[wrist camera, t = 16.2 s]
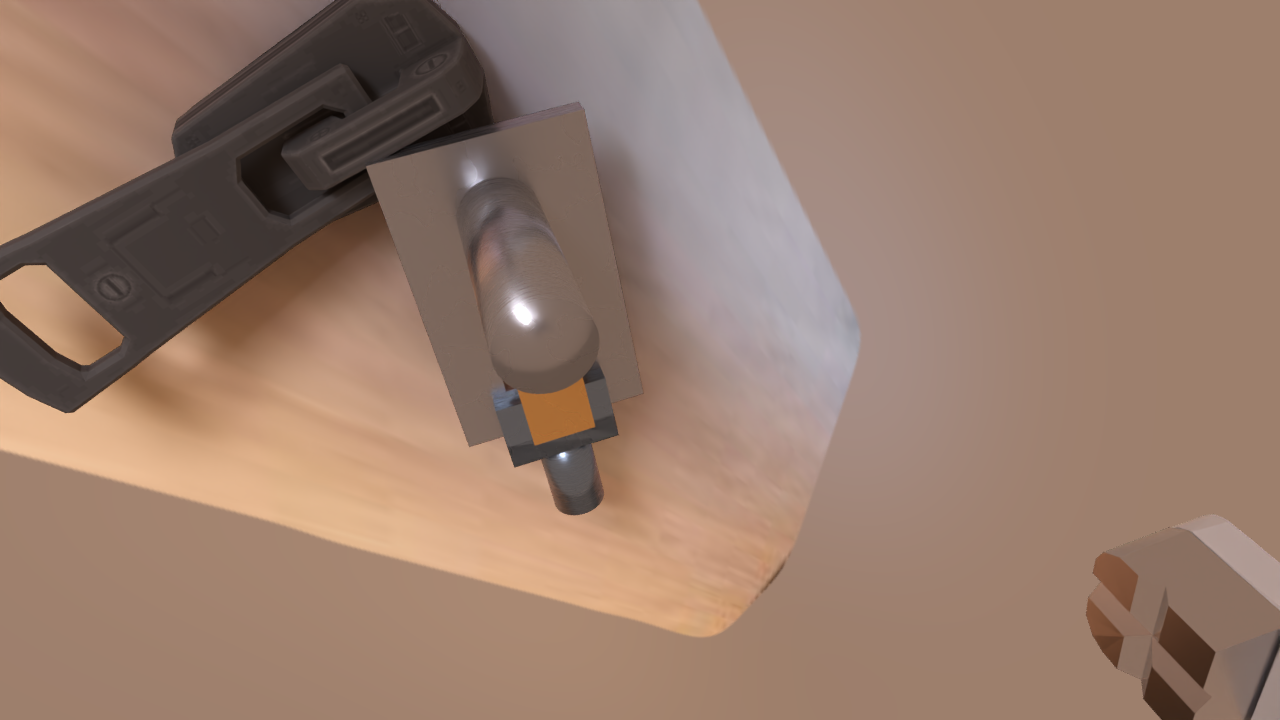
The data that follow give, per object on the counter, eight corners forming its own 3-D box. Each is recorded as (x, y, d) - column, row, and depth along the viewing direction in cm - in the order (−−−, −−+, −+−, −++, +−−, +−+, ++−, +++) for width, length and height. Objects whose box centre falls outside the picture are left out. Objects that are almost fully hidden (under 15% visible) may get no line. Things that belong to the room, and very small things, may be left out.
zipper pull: (-114, 294, 35) (433, -14, 35) (-61, 221, 40) (417, -49, 40) (64, 434, 41) (538, 170, 40) (91, 354, 46) (511, 119, 46)
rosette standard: (363, 124, 44) (372, 293, 29) (558, 74, 45) (659, 212, 30) (486, 466, 57) (534, 699, 42) (634, 420, 58) (730, 631, 44)
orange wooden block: (481, 262, 49) (513, 378, 40) (533, 247, 50) (578, 359, 40) (499, 321, 52) (534, 445, 42) (549, 307, 52) (595, 426, 42)
